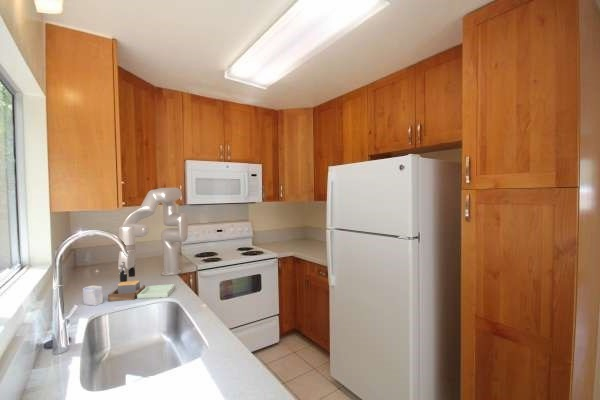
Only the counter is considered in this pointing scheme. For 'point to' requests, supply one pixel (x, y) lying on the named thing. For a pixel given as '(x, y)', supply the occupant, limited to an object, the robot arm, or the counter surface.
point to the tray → (156, 291)
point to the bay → (124, 295)
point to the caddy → (128, 287)
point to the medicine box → (92, 295)
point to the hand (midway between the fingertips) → (127, 279)
